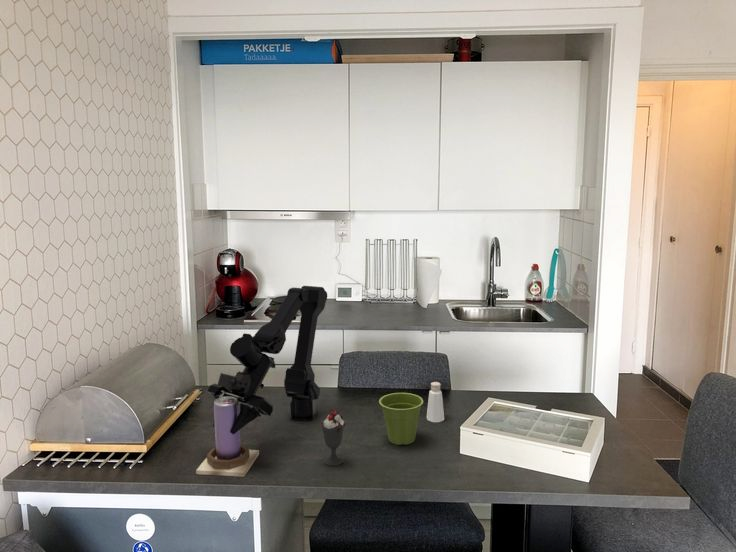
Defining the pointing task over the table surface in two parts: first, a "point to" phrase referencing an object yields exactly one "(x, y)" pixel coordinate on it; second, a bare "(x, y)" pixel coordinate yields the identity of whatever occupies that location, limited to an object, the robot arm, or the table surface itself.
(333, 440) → the sundae
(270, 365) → the robot arm
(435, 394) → the salt shaker
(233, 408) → the beverage can
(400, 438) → the plant pot
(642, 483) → the table surface
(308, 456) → the table surface
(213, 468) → the board
